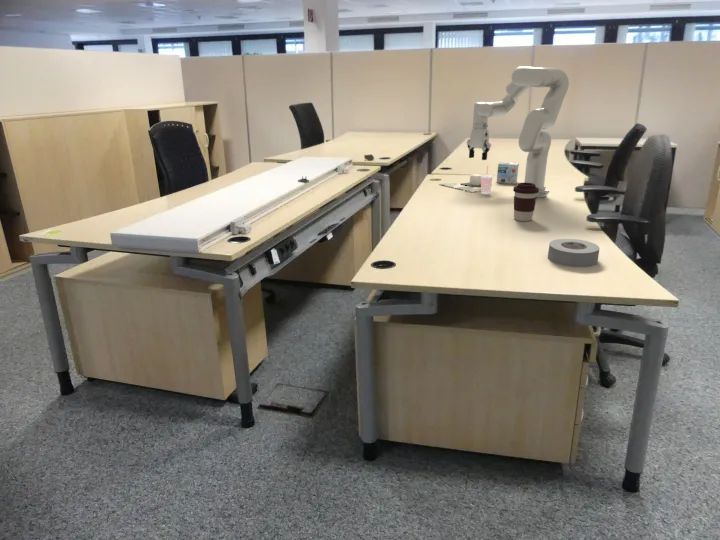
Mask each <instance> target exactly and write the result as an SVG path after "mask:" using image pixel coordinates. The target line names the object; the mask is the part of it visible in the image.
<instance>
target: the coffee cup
mask: <svg viewBox="0 0 720 540" xmlns="http://www.w3.org/2000/svg"><path fill="white" fill-rule="evenodd" d="M512 189H513V190H512V191H513V193H514V195H513V219H514V220H515V221H518V222H531V221H532V220H533V216H534V211H535V208H536V202H537V197H536V194H537V193H538V191H539V188H537V187H536V186H535V184H533V183H524V182H519V183H518V182H517V184H516V185H515V186H513V188H512Z"/></svg>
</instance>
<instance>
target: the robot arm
mask: <svg viewBox="0 0 720 540" xmlns="http://www.w3.org/2000/svg"><path fill="white" fill-rule="evenodd" d="M569 84H570V82H569V77H568V75H567V73H566V72H565V71H564V70H563V69H561V68H558V67H535V66H533V65H531V66H530V65H529V66H528V65H526V66H523V65H521V66H518V67H516V68H515V69H514V70H513V72H512V73H511V81H510V82H508V84H506V86H505V91H506V95H505V96H504V97H503V98H502V99H501V100H500V101H490V102H488V101H487V102H486V101H475V103H474V104H473V116H472V117H473V118H472V119H473V120H472V128H471V131H470V132H471V133H470V139H469V140H467V141H466V145H467V148H468V151H469V153H468V154H469V155H468V158H469V159H472V158H473V159H474V157H475V149H481V150H482V152H481V153H482V154H481V160H482V161H486V160H487V159H488V153H489V151H490V150H491V147H492V144H491V143H490V134H489V129H488V127H489V125H488V120H489V118H497V117H503V116H505V115H507V114H508V113H509V112H510V111H511V110H512V109H514V107H515V106H516V105H517V102H518V101H519V98H520V97H521V96H522V95H524V93H526V91H528V90H529V89H530V88H549V90H548V91H547V93H546V94H545V96H544V97H543V100H542V104H541V107H540V108H536V109H532V110H531V111H530V112H529V113H528V114H527V116H526V117H525V120H524V122H523V126H522V129H521V131H520V135H519V138H518V147H519V148H520V150H521V151H522V152H525V153H528V154H527V156H526V162H525V163H526V164H525V165H526V166H525V174H524V182H523V183H533V184H535V186H536V187H537V188H539V191H538V193H537V194H536V198H544V197H547V196H548V195H549V193H550V190H547V188H546V186H545V182H546V172H547V163H548V157H549V151H550V148H551V144H552V137H551V135H550V133H549V132H547V131H546V130H548V129H551V128H553V127H554V126H555V124H556V121H557V119H558V116H559V113H560V110H561V107H562V105H563V101H564V100H565V97H566V95H567V92H568V88H569V86H570V85H569Z"/></svg>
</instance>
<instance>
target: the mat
mask: <svg viewBox="0 0 720 540" xmlns="http://www.w3.org/2000/svg"><path fill="white" fill-rule="evenodd" d="M461 184H462V185H464V186H465V185H467V186H469V187H470V186H471V187H473V188H474V187H479V188H481V185H472V184H470V181H469V182H464V183H461Z"/></svg>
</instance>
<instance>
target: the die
mask: <svg viewBox="0 0 720 540" xmlns="http://www.w3.org/2000/svg"><path fill="white" fill-rule="evenodd" d="M481 175H482V174H479V173H478V174H477V173H474V174H470V176H469V182H470V184H472V185H481Z"/></svg>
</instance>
